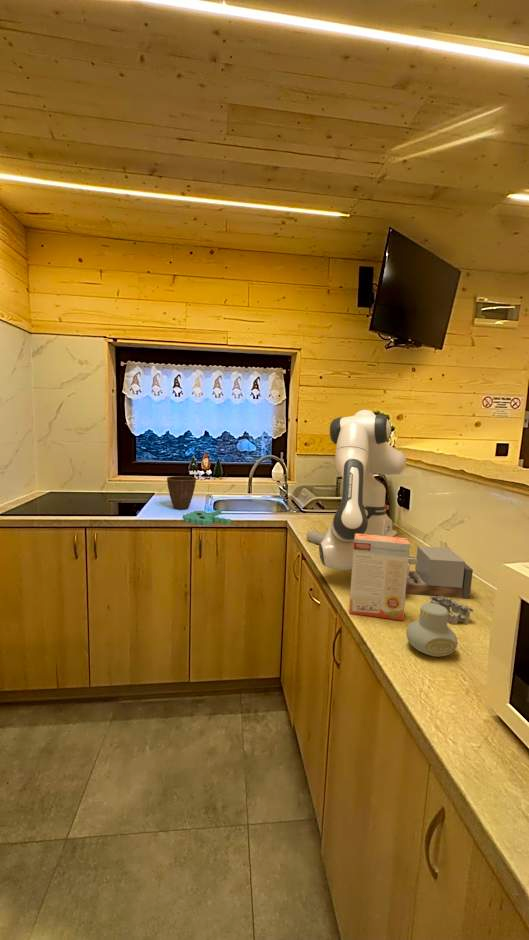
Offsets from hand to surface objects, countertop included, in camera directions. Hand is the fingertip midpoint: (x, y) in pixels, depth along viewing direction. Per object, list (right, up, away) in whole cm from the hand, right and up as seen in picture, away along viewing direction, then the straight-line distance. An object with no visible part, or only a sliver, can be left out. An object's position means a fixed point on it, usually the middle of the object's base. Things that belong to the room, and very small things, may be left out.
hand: (416, 560), depth 133 cm
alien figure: (-76, +4, +71) cm, 104 cm away
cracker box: (-17, -11, -18) cm, 27 cm away
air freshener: (-9, -13, -35) cm, 38 cm away
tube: (-21, -3, +37) cm, 42 cm away
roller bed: (+4, -9, +1) cm, 10 cm away
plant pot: (-91, +8, +91) cm, 129 cm away
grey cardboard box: (+7, -6, 0) cm, 9 cm away
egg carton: (+3, -12, -17) cm, 21 cm away
